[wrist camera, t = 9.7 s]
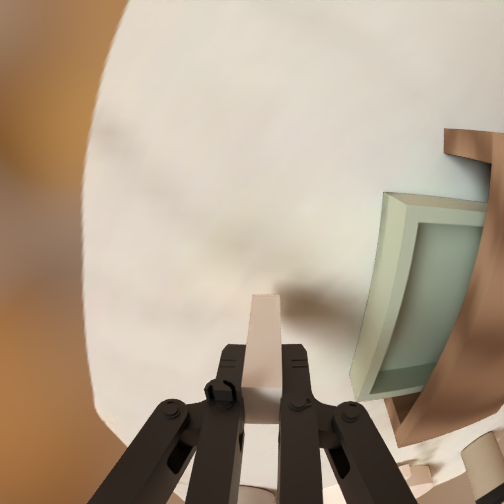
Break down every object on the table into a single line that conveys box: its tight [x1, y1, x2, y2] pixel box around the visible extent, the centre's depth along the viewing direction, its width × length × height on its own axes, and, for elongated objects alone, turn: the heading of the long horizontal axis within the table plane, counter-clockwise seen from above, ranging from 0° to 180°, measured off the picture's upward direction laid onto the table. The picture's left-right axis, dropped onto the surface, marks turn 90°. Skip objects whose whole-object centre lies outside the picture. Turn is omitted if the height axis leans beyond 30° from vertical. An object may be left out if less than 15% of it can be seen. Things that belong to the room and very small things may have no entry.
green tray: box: [349, 192, 488, 402], centre depth 15 cm, size 14×12×3 cm
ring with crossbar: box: [323, 464, 434, 504], centre depth 33 cm, size 28×28×5 cm
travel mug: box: [461, 432, 504, 504], centre depth 21 cm, size 8×8×18 cm
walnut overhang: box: [384, 129, 504, 448], centre depth 13 cm, size 22×12×6 cm, turn 2°
